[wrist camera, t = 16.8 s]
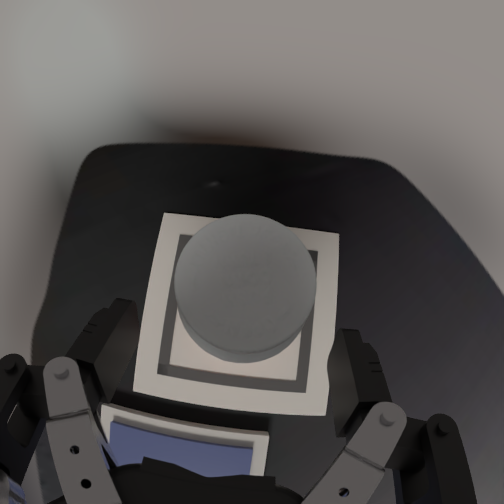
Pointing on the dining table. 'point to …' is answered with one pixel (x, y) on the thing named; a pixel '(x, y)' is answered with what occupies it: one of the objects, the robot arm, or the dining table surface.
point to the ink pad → (183, 443)
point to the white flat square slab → (228, 373)
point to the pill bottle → (244, 287)
